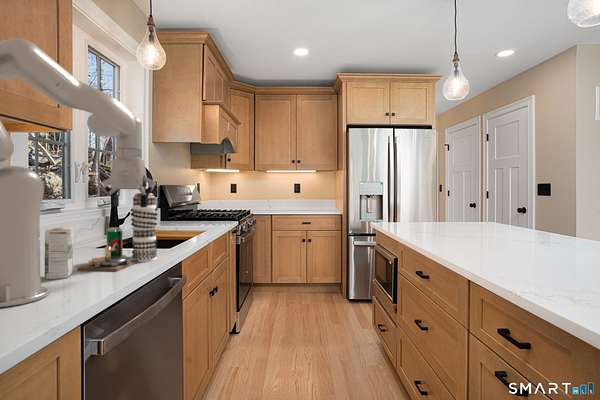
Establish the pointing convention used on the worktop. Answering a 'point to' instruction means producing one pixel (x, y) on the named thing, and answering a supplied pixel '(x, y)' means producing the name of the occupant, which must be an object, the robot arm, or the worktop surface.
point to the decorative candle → (144, 229)
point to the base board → (106, 267)
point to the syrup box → (58, 253)
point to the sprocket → (110, 259)
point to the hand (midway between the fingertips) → (129, 207)
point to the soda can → (115, 240)
